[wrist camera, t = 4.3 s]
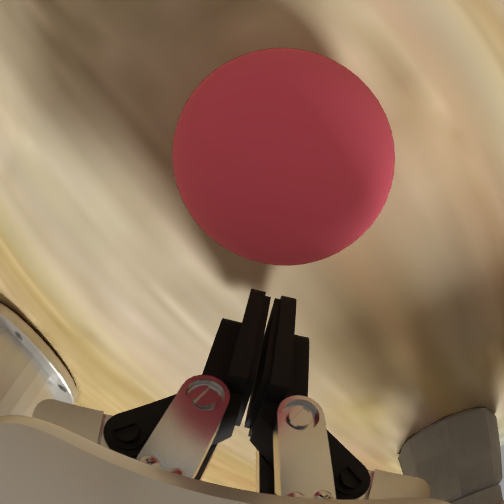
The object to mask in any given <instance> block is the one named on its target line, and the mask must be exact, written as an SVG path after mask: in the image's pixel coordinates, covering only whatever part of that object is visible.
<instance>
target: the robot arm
mask: <svg viewBox="0 0 504 504" xmlns="http://www.w3.org/2000/svg"><path fill="white" fill-rule="evenodd" d="M265 294H266V292H264V291H259V290H255V289H251V292H250V296H249V299H248V303H247V307H246V310H245V314H244V318H243V321H242V323H240V322H236V321H232V320H228V319H224V318H223V319H222V321H221V323H220V326H219V329H218V331H217V334H216V337H215V340H214V343H213V346H212V348H211V351H210V354H209V357H208V360H207V362H206V365H205V368H204V371H203V374H202V375H197V376H193V377H191V378H189V379H188V380H186V381H185V383H184V384H183V385H182V386H181V388H180V390H179V391H178V393H177V394H175V395H173V396H170V397H167V398H164V399H161V400H159V401H156V402H153V403H150V404H147V405H144V406H141V407H138V408H135V409H132V410H128V411H125V412H122V413H119V414H116V415H114V416H112V415H107V414H104V412H103V411H99V410H94V409H90V408H85V407H81V406H77V405H75V403H76V402H77V399H78V392H77V388H76V386H75V383H74V381H73V379H72V377H71V376H70V374H69V372H68V371H67V369H66V368H65V366H64V365H63V364H62V362H61V361H60V359H59V358H58V357H57V356H56V355H55V353H54V352H53V351H52V350H51V348H50V347H49V346H48V345H47V344H46V343H45V342H44V341H43V339H42V338H41V337H40V336H39V335H38V334H37V333H36V332H35V331H34V330H33V329H32V328H31V327H30V326H29V325H28V324H27V323H26V322H25V321H23V320H22V319H21V318H20V317H19V316H18V315H17V314H15V313H14V312H13V311H12V310H10V309H9V308H8V307H6V306H4V305H3V304H1V303H0V504H451V503H449V502H446V501H443V500H439V499H434V498H430V487H429V485H428V483H427V482H426V481H425V480H424V479H421V478H419V477H412V476H407V475H401V474H396V473H391V472H386V471H381V470H377V469H375V470H373V471H371V470H367V469H366V467H365V466H364V465H363V464H362V463H361V462H360V461H359V460H358V459H357V458H355V457H354V456H353V455H352V454H351V453H350V452H349V451H348V450H347V449H346V448H345V447H344V446H343V445H342V444H341V443H340V442H339V441H338V440H337V439H336V438H335V437H334V436H333V435H332V434H331V433H330V432H329V431H328V430H327V429H326V423H325V417H324V413H323V410H322V408H321V407H320V405H319V404H318V403H317V402H315V401H314V400H313V399H311V398H309V397H308V372H309V338H308V337H303V336H298V335H294V331H295V316H296V299H294V298H290V297H285V296H281V299H276V298H275V300H274V304H273V307H272V310H271V314H270V317H269V321H268V324H267V328H266V331H265V327H266V321H267V316H268V310H269V304H270V299H271V297H268V296H265ZM264 332H265V334H264ZM250 395H251V397H250ZM249 398H250V402H249V407H248V411H247V416H246V421H245V427H246V428H250V430H249V435H248V436H250V437H251V438H250V441H251V443H252V444H253V445H254V446H255V447H256V449H257V450H256V492H252V491H246V490H241V489H236V488H231V487H226V486H221V485H217V484H213V483H209V482H205V481H201V480H202V478H203V476H204V474H205V472H206V470H207V468H208V465H209V463H210V461H211V459H212V457H213V455H214V453H215V451H216V449H217V446H218V444H219V442H221V441H223V440H225V439H227V438H229V437H231V436H232V433H233V430H234V426H235V425H237V426H240V424H241V421H242V418H243V415H244V412H245V410H246V407H247V404H248V401H249Z"/></svg>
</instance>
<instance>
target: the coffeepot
mask: <svg viewBox="0 0 504 504" xmlns="http://www.w3.org/2000/svg"><path fill="white" fill-rule="evenodd" d="M398 460H399V463H400V466H401V469H402V472H403V475H407V476H412V477H419V478H421V479H424V480H425V481H426V482H427V483H428V485H429V487H430V498H434V499H439V500H443V501H446V502H449V503H451V504H504V501H503V498H502V492H501V486H500V485H499V483H500V481H501V480H502V465H501V452H500V442H499V433H498V426H497V419H496V416H495V415H494V414H493V413H492V412H491V411H490V410H489V409H487V408H472V409H468V410H464V411H461V412H458V413H455V414H453V415H450V416H448V417H445V418H443V419H441V420H439V421H437V422H435V423H433V424H431V425H429V426H427V427H425V428H424V429H422V430H421V431H419V432H417V433H416V434H415V435H413V436H412V437H411V438H410V439H408V440H407V441H406V442H405V444H404V445H403V446H402V449H401V453H400V455H399V457H398Z"/></svg>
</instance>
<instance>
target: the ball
mask: <svg viewBox="0 0 504 504" xmlns="http://www.w3.org/2000/svg"><path fill="white" fill-rule="evenodd" d="M394 163H395V152H394V141H393V136H392V132H391V128H390V125H389V122H388V120H387V117H386V114H385V112H384V110H383V109H382V107H381V105H380V103H379V101H378V100H377V98H376V97H375V96H374V94H373V93H372V92H371V90H370V89H369V88H368V87H367V86H366V85H365V84H364V83H363V81H362V80H361V79H360V78H359V77H357V76H356V75H355V74H354V73H352V72H351V71H350V70H348V69H347V68H346V67H344V66H342V65H341V64H339V63H337V62H335V61H334V60H332V59H329V58H327V57H325V56H322V55H320V54H317V53H313V52H309V51H305V50H300V49H291V48H271V49H265V50H259V51H254V52H251V53H247V54H244V55H241V56H239V57H237V58H235V59H232V60H230V61H228V62H226V63H225V64H223V65H222V66H220V67H219V68H217V69H216V70H214V71H213V72H212V73H211V74H210V75H208V76H207V77H206V78H205V79H204V80H203V81H202V82H201V83H200V84H199V86H198V87H197V88H196V89H195V90H194V91H193V93H192V94H191V96H190V98H189V99H188V101H187V102H186V104H185V106H184V108H183V111H182V113H181V115H180V117H179V120H178V123H177V127H176V130H175V134H174V141H173V169H174V176H175V179H176V183H177V187H178V190H179V192H180V195H181V197H182V200H183V202H184V204H185V206H186V207H187V209H188V211H189V213H190V214H191V216H192V217H193V218H194V220H195V221H196V223H197V224H198V225H199V226H200V227H201V228H202V229H203V231H204V232H205V233H206V234H207V235H209V236H210V237H211V238H212V239H213V240H214V241H216V242H217V243H218V244H220V245H221V246H223V247H224V248H226V249H227V250H229V251H231V252H233V253H235V254H237V255H239V256H241V257H244V258H247V259H249V260H252V261H256V262H260V263H265V264H272V265H300V264H306V263H311V262H315V261H318V260H321V259H324V258H327V257H329V256H331V255H334V254H336V253H338V252H340V251H341V250H343V249H344V248H346V247H347V246H349V245H351V244H352V243H353V242H354V241H356V240H357V239H358V238H359V237H360V236H361V235H363V234H364V233H365V231H366V230H367V229H368V228H369V227H370V226H371V225H372V224H373V222H374V221H375V219H376V218H377V217H378V215H379V214H380V212H381V210H382V208H383V206H384V204H385V202H386V200H387V197H388V194H389V192H390V189H391V185H392V180H393V175H394Z"/></svg>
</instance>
